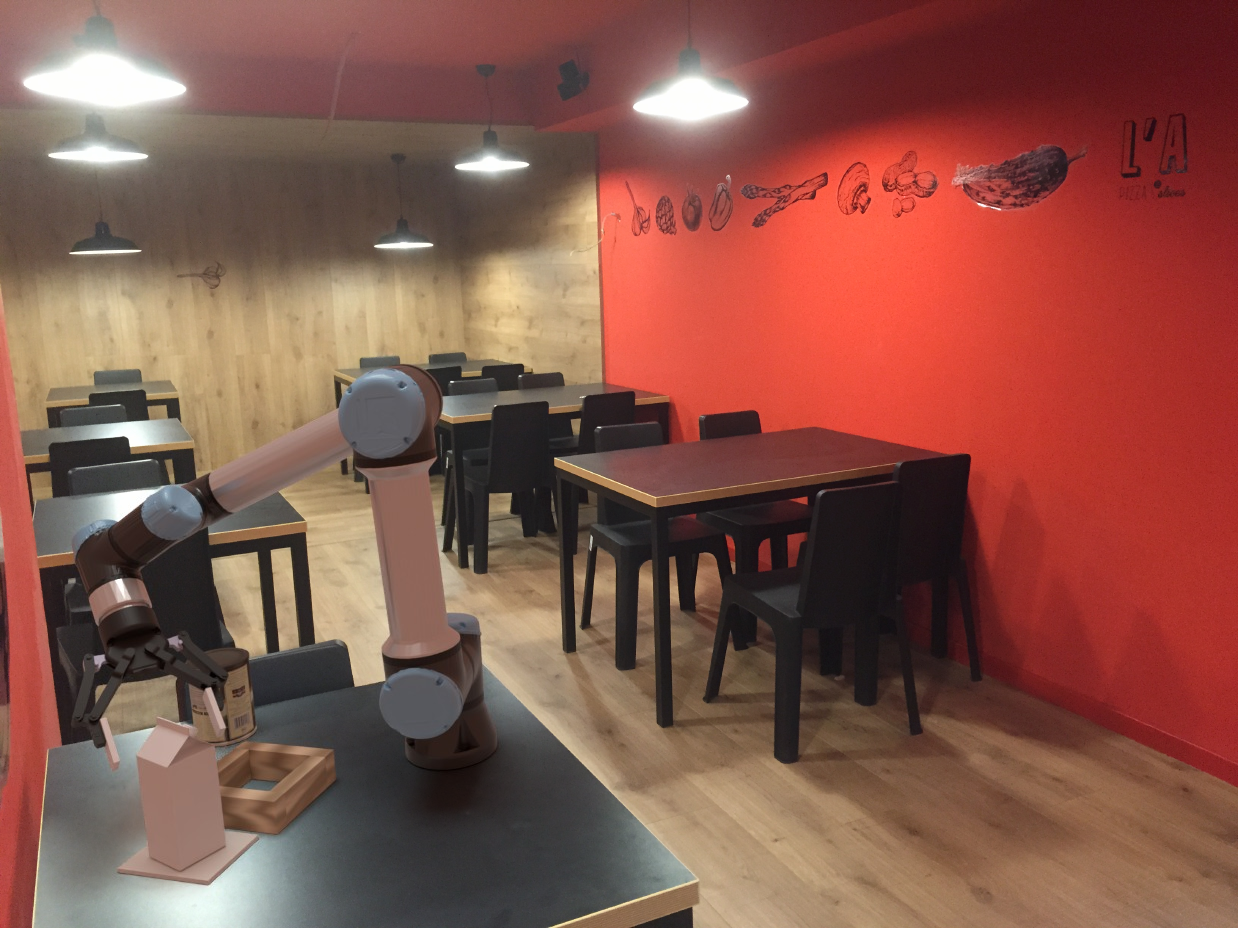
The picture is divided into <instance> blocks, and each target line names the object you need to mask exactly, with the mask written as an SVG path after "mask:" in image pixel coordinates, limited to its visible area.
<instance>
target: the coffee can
mask: <svg viewBox="0 0 1238 928" xmlns="http://www.w3.org/2000/svg"><path fill="white" fill-rule="evenodd" d="M203 652H204V653H206V654H207V655H208V656H209V657H210V658H211V659H212V660H214V661H215V662H216V663H217V664H218V665H219V666H221V667H222V668H223V669H224V670H225V671H226V672H228V674H229V676H228V679H227V681H226V684H225V685H224V686H222V687H220V688H219V690H220V693H221V696H222V698H223V701H224V708H223V711H221V712H220V713H221V716H222V719H223V721H224V724H225V727H226V729H225V731H224V733H223V736H221V737H218V738H217V736H216V733H215V731H214V728H213V725H212V723H211V720H210V717H209V714H208V712H207V709H206V706H205V703H204V701H203V698H202V697H203V694H204V691H202V690H200V689H198V688H196V687H194V686H192V685H191V684H189V683H188V690H189V698H190V707H191V714H192V722H193V727H195V728H197V729H199V730H198V732H197V734H196V736H195V737H196V738H198V739H201V740H203V741H206V742H208V743H210V744H213V745H215V748H217V747H224V746H230V745H234V744H237V743H239V742H242V741H243V742H244V741H246V740H247V739H248V738H250V737H252V736H253V735H254V734H255V733H256V731H257V729H258V726H257V720H256V712H255V702H254V693H253V686H252V685H253V684H252V676H251V666H250V652H249V651H248V650H247V649H245V648H242V647H241V648H240V647H221V648H220V647H219V648H214V649H209V650H206V651H203ZM184 663H185V664H187V665H189V666H191V667H193V668H195V669H197V670H199V671H201V670H200V669H199V668H197V667H196V666H195V665H194V664H193V663H192V662H190V661H189V660H188V659H187V660H186V661H185V662H184ZM201 672H202V671H201Z"/></svg>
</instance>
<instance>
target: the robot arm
mask: <svg viewBox="0 0 1238 928" xmlns="http://www.w3.org/2000/svg"><path fill="white" fill-rule="evenodd" d="M443 397H444V396H443V393H442V388H441V386H440V385H439V383H438V382H437V380H436V378H435V377H433V375H431V373H430V372H429V371H427V370H425V369H424V368H422V367H420V366H418V365H415V364H408V363H400V364H392V365H390V366H387V367H383V368H379V369H375V370H370V371H368V372H365V373H364V374H362V375H361V376H359V377H358V378H356V379H355V380H354V381H353V382H351V384H350V385H349V386H348V387H347V388H346V390H345V391H344V393H343V395H342V396H341V398H340V400H339V401H340V402H339V406H338V408H336V409H334V410H331V411H330V412H328V413H325V414H324V415H323V414H322V416H319V417H318V418H316V419H314V420H311V421H308V423H306V424H304V425H302V426H300V427H298V428H296V429H294V430H292V431H289V432H287V433H285V434H284V435H281V436H280V437H278V438H276V439H274V440H272V441H269V442H267V443H266V444H264V445H261V446H260V447H257V448H256V449H254V450H252V451H250V452H248V453H246V454H243V455H242V456H240V457H237V458H236V459H234V460H232V461H229V462H228V463H225V464H224V465H222V466H220V467H218V468H216V469H213V471H210V472H208V473H205V474H204V475H202V476H200V477H197V478H196V479H194V480H192V481H190V482H187V483H186V484H184V485H183V484H182V485H181V486H177V485H174V484H168V485H166V486H164V487H162V488H161V489H159V490H157V491H156V492H154V493H152V494H149V496H147V497H146V499H145V500H144V501H143V502H141V503H140V504H139V505H137V506H136V507H135V508H134V509H133V510H131V511H130V512H129V513H127V514H126V515H125V516H124V517H122V518H121V519H120V520H119V521H117V520H114V519H99V520H94V521H92V523H90V524H84V525H82V526H80V527H79V528H78V529H77V530H76V531H75V532H74V533H73V535H72V538H71V549H72V552H73V557H74V559H73V561H74V564H75V567H77V570H78V573H79V575H80V578H81V581H82V584H83V586H84V589H85V592H86V595H87V599H88V602H89V606H90V608H91V612H92V615H93V618H94V622H95V624H96V625H97V631H98V633H99V634H98V635H99V637H100V640H101V643H102V646H103V649H104V653H105V654H98V655H94V654H93V653H86V654H84V657H83V660H82V666H81V667H82V671H83V672H82V673H83V677H82V680H81V684H80V688H79V691H78V694H77V695H78V696H77V698H76V702H75V706H74V710H73V712H72V716H71V724H70V725H71V727H72V729H79V728H81V727H82V728H83V727H84V728H86V729H87V730H88V731H89V732H90V735H91V739H92V743H93V746H94V747H95V748H96V750H97V749H98V750H99V749H102V748H103V749H104V750H105V753H106V757H107V760H108V763H109V767H110V770H111V772H114V771H117V770H119V768H120V767H119V766H120V764H121V760H120V756H119V753H118V750H117V747H116V743H115V740H114V738H113V734H112V732H111V727H110V725H109V722H108V718H107V717H106V716H105V717H103V716H104V714H105V712H106V710H107V709H108V707H109V705H110V704H111V702H112V699H113V698H114V697H115V695H116V693H117V692H118V689H119V688H120V686H121V685H122V683H123V682H124V680H125V678H127V679H131V680H135V679H138V678H141V677H142V676H151V675H154V674H156V672H157V671H160V672H162V673H164V674H166V675H168V674H169V675H172V676H173V677H175V678H177V679H180V680H181V681H183V682H185V683H186V684H188V685H189V684H191V685H192V686H194V687H196V688H198V689H200V690H202V691H204V694H203V697H202V698H203V701H204V703H205V706H206V709H207V712H208V714H209V717H210V720H211V723H212V725H213V728H214V731H215V733H216V736H217V738H218V737H221V736H223V733H224V731H225V729H226V727H225V724H224V721H223V719H222V716H221V713H220V712H221V711H223V708H224V701H223V698H222V696H221V693H220V690H219V688H220V687H222V686H224V685H225V684H226V681H227V679H228V676H229V674H228V672H226V671H225V670H224V669H223V668H222V667H221V666H219V665H218V664H217V663H216V662H215V661H214V660H212V659H211V658H210V657H209V656H208V655H207V654H206V653H204V652H205V651H204V650H202V649H201V648H200V647H198V645H196V644H195V643H194V642H193V641H192V639H191V637H190V635H189V634H188V632H187V631H186V630H180V631H179V632H178V634H177V635H176V636H172V637H169V638H167V637H165V636H164V634H163V633H162V629H161V627H160V624H159V622H158V618H157V615H156V613H155V610H154V609H153V608H152V607H153V605H152V602H151V601H152V600H151V599H150V596H149V594H148V591H147V588H146V586H145V582H144V578H143V576H142V573H141V570H142V569H143V568H144V567H145V566H148V565H149V564H150V563H152V562H153V561H154V560H155V559H156V558H158V557H160V556H161V555H162V554H163V553H165V552H166V551H168V550H169V549H170V548H171V547H173V546H175V545H177V544H179V543H180V542H182V541H184V540H185V539H187V538H189V537H191V536H192V535H194V534H197V533H198V532H200V531H202V530H204V529H206V528H208V527H210V526H212V525H215V524H216V523H219V522H220V521H222V520H224V519H226V518H228V517H229V516H230V517H231V516H232V515H234V514H235V513H237V512H239V511H241V510H244V509H245V508H247V507H249V506H252V505H253V504H255V503H259V502H260V501H262V500H264V499H266V498H267V497H270V496H272V495H274V494H276V493H279V492H281V491H282V490H284V489H287V488H289V487H290V486H292V485H295V484H297V483H299V482H300V481H303V480H304V479H307V478H309V477H311V476H313V475H315V474H317V473H319V472H321V471H323V470H326V469H327V468H329V467H332V466H334V465H336V464H337V463H339V462H342V461H344V460H346V459H347V458H350V457H352V456H353V460H354V461H353V462H354V468H355V469H356V470H357V471H358V472H360V473H361V474H362V475H364V476H365V477H366V479H367V481H368V488H369V497H370V504H371V510H372V516H373V523H374V524H373V525H374V530H375V538H376V539H375V540H376V544H377V545H376V546H377V552H378V559H379V568H380V574H381V581H382V587H383V589H382V590H383V595H384V602H385V610H386V616H387V622H388V623H387V624H388V630H389V636H388V637H387V638H386V640H385V641H384V642H383V644H382V645H381V656H382V664H383V671H384V678H385V681H384V683H383V684H382V685H381V690H380V692H379V699H378V700H379V701H378V702H379V703H378V704H379V710H380V712H381V716H382V718H383V719H384V721H385V722H386V723H387V725H388V726H389V727H390V728H392V730H395V731H396V732H398V733H400V735H401V736H404V737H405V738H404V739H405V743H404V747H405V755H406V759H407V760H408V761H409V762H410V763H411V764H413V765H415V766H416V767H420V768H423V769H427V770H436V771H441V770H442V771H444V770H445V771H446V770H455V769H457V770H458V769H463V768H466V767H469V766H473V765H476V764H479V763H481V762H482V761H485V760H486V759H489V757H491V755H493V754H494V753H495V751H497V747H498V733H497V728H496V725H495V724H494V721H493V719H492V716H491V714H490V711H489V709H488V707H487V704H486V701H485V692H484V675H483V673H484V672H483V656H482V655H483V653H482V631H481V628H480V627H481V626H480V621H479V618H477V617H476V616H474V615H473V614H469V613H464V612H447V607H446V606H447V604H446V598H445V590H444V582H443V575H442V567H441V566H442V565H441V560H440V552H439V545H438V537H437V530H436V522H435V521H436V519H435V515H434V506H433V499H432V498H433V497H432V496H433V495H432V490H431V489H432V488H431V482H430V474H429V470H430V468H431V467H432V466H433V464H434V463H435V462H436V460H437V459H438V453H437V445H436V437H435V429H434V428H435V427H436V426H437V424H438V423H439V421H440V419H441V416H442V413H443V410H444V398H443ZM170 648H173V649H174V650H175V651H176V652H180V653H181V654H182V655H183V657H185V658H186V659H187V660H189V661H190V662H192V663H193V664H194V665H195V666H196V667H197V668H199V669H200V670H201V671H202V672H201V671H199V670H197V669H195V668H193V667H191V666H189V665H187V664H185V663H186V662H184V661H182V660H180V659H178V658H177V657H176V655H174V654H172V653H169V652H168V651H169V649H170ZM103 665H105V666H106V667H108V668H110V669H111V670H113V672H112V675H111V677H110V678H109V680H108V682H107V684H106V685H105V686H104V688H103V691H102V692H101V694H100V695H99V698H98V699H97V700H96V703H95V704H94V706H93V708H92V709H91V711H90V713H85V711H86V709H87V705H88V702H89V697H90V693H91V690H92V686H93V683H94V678H95V673H98V672H99V671H100V670H101V667H102V666H103Z"/></svg>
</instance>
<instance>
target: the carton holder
mask: <svg viewBox="0 0 1238 928" xmlns="http://www.w3.org/2000/svg"><path fill="white" fill-rule="evenodd" d="M334 750H335V749H332V748H318V747H309V746H302V745H301V746H299V745H290V744H289V745H288V744H287V745H286V744H279V743H277V744H276V743H267V742H258V741H246V740H243V742H241V743H240V744H239V745H237V746H236V747H234V748H233V749H231V751H229V752H228V753H227V754H225V755H224V756H222V757H221V758H220V759H218V760H217V769H218V777H219V786H220V795H221V804H222V813H223V821H224V829H229V830H230V829H231V830H239V831H246V832H254V833H265V834H271V835H279V834H280V833H281V832H282V831H283V830H284V829H285V828H286V827H287V826H288V825H289V824H290V823H291V822H292V821H294V820H295V818H296V817H298V816H299V815H300V813H302V812H303V811H304V810H305V809H306V808H308V806H309V805H311V804H312V803H313V801H315V800H316V799H317V798H318V797H319V796H320V795H321V794H322V793H323V792H324V791H325V790H326V789H327V788H329V786H330V785H332V784H333V783H334V782H335V781H336V780H337V774H336V773H337V771H336V762H335V761H336V760H335V751H334ZM251 780H258V781H259V780H260V781H267V782H277V784H276V785H274V786H273V787H272V788H271V789H270V790H259V789H251V788H250V789H249V788H242V787H244V786H245V785H246V784H248V783H249V782H250V781H251Z"/></svg>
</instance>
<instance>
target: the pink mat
mask: <svg viewBox="0 0 1238 928" xmlns="http://www.w3.org/2000/svg"><path fill="white" fill-rule="evenodd" d="M225 839H226V845H225V846H223V847H222V848H220V849H218V850H216V851H215V852H213V853H211V854H209V855H208V856H206V857H204V858H202V859H201V860H199V861H197V862H195V863H193V864H192V865H190V866H188V867H186V868H185V869H183V870H181V871H178V870H176V869H174V868H172V867H170V866H168V865H166V864H164V863H162V862H160V861H158V860H156V859H153V858H151V857H150V856H149V852H148V844H146V845H145V846H144V847H143V848H142V849H140V850H139V851H137V853H135V854H134V855H132V856H131V857H129V859H127V860H126V861H125V862H123V864H121V865H120V866H118V867H117V868H116V869H117V873H119V874H126V875H134V876H141V877H149V878H156V879H163V880H169V881H170V880H171V881H178V882H185V883H191V884H199V885H205V886H208V885H210V884H212V882H214V880H216V878H218V877H219V876H220V875H221V874H222V873H223V872H224V871H225V870H226V869H227V868H229V867H230V866H231V865H232V864H233V863H234V862H236V860H237V859H239V857H241V856H242V855H243V854H244V853H245V852H246V851H247V850H248V849H250V848H251V846H253V845H254V844H255V843H256V842H257V841H258V840H259V839H260V836H259V834H258V833H257V834H256V833H255V834H254V833H247V832H239V831H231V830H225Z"/></svg>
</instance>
